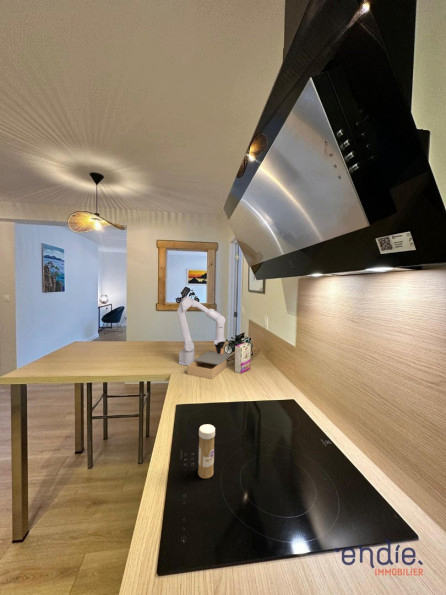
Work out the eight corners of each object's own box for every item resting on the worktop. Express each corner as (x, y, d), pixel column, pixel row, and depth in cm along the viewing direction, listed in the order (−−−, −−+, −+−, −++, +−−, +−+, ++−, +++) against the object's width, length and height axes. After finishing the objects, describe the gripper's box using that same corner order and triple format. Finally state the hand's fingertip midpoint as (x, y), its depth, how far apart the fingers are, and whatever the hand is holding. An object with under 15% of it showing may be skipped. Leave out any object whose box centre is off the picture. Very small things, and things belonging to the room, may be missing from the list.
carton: (187, 374, 148) (187, 365, 148) (204, 363, 168) (204, 355, 168) (212, 379, 142) (212, 369, 142) (226, 367, 162) (226, 358, 162)
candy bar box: (243, 367, 163) (244, 342, 162) (250, 369, 160) (251, 343, 159) (233, 372, 154) (234, 345, 153) (240, 374, 151) (241, 347, 150)
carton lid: (193, 360, 155) (194, 354, 155) (209, 351, 176) (209, 345, 176) (218, 364, 149) (219, 358, 149) (231, 354, 170) (232, 348, 170)
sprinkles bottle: (209, 481, 70) (211, 434, 69) (195, 476, 71) (196, 430, 70) (216, 470, 74) (217, 425, 73) (202, 465, 76) (203, 422, 75)
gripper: (221, 335, 162) (220, 356, 163) (229, 331, 175) (228, 351, 176) (211, 334, 164) (210, 355, 165) (219, 330, 178) (219, 349, 179)
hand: (219, 352), depth 171 cm, fingers closed on carton lid, 2 cm apart
